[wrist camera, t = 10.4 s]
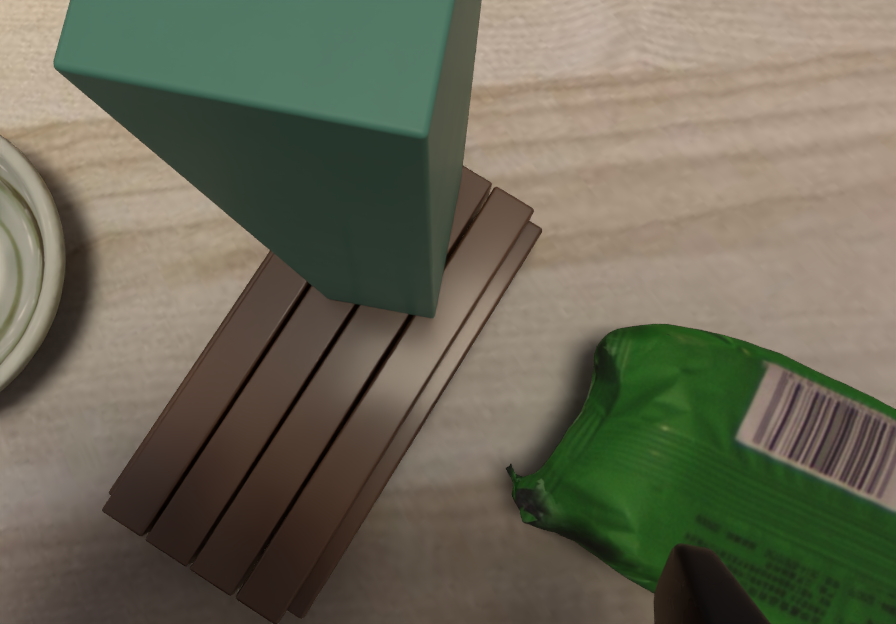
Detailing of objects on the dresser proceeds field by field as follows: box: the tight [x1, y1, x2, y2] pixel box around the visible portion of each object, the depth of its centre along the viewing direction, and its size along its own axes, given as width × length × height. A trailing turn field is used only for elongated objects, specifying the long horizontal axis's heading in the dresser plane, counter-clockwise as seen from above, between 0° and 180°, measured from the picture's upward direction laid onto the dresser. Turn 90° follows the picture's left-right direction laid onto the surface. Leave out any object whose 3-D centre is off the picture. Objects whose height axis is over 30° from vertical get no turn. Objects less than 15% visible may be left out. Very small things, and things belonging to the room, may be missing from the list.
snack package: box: [506, 324, 896, 624], centre depth 18 cm, size 7×16×5 cm, turn 65°
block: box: [53, 0, 482, 318], centre depth 12 cm, size 4×3×13 cm
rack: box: [102, 166, 542, 624], centre depth 20 cm, size 13×6×4 cm, turn 148°
